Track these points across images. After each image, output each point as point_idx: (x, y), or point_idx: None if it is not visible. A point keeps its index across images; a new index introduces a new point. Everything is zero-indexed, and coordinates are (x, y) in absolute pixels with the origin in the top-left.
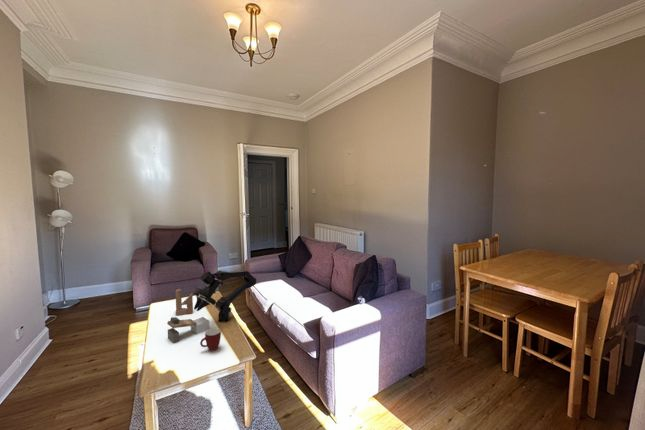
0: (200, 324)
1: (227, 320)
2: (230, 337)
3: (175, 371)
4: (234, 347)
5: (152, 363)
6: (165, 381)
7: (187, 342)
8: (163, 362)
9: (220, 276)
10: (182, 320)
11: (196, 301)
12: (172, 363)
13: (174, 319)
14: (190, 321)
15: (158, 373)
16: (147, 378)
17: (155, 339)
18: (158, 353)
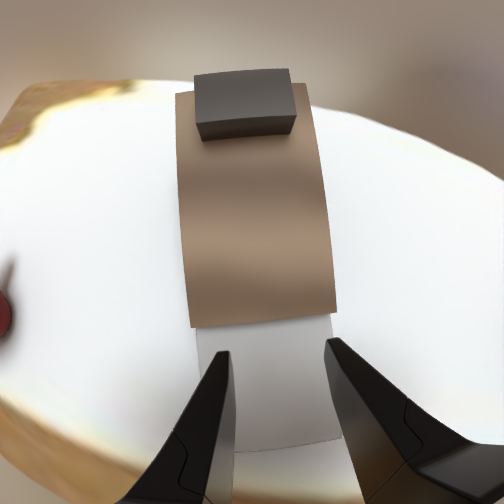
0: (200, 366)
1: None
2: (33, 441)
3: (11, 148)
4: None
5: (112, 90)
6: (6, 123)
7: (145, 239)
8: (82, 119)
9: None
10: (306, 211)
11: (437, 420)
12: (49, 144)
13: (217, 79)
14: (254, 281)
15: (47, 106)
16: (56, 84)
17: (324, 124)
18: (163, 108)
